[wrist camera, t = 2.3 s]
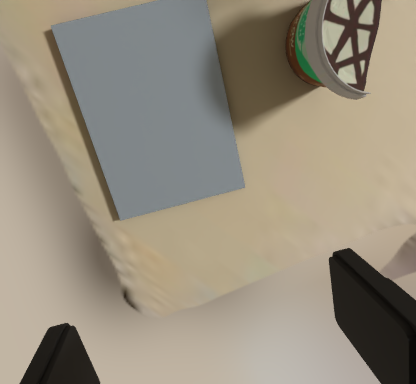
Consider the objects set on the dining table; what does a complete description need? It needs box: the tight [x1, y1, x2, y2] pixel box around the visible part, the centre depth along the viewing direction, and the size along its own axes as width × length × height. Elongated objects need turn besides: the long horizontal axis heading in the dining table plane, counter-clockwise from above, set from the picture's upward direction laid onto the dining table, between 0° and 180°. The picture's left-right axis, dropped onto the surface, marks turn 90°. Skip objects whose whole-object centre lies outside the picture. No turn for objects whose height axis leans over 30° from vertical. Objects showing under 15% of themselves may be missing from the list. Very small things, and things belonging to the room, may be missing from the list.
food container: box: [286, 0, 382, 100], centre depth 30 cm, size 12×6×10 cm, turn 177°
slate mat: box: [51, 0, 245, 220], centre depth 35 cm, size 22×16×1 cm
